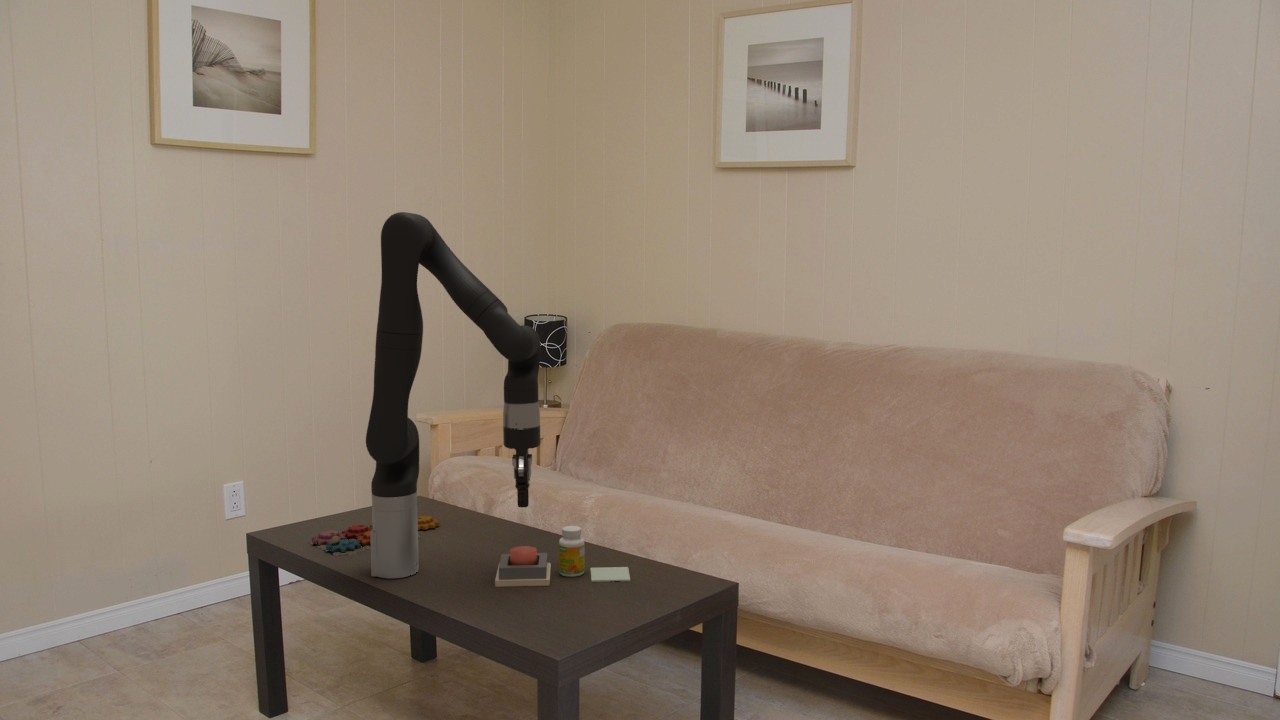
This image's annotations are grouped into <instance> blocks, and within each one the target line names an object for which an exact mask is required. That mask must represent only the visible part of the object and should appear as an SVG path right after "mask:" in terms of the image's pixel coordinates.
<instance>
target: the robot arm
mask: <svg viewBox="0 0 1280 720" xmlns="http://www.w3.org/2000/svg"><path fill="white" fill-rule="evenodd" d="M380 255H381V256H380V257H381V262H380V263H381V265H380V266H381V282H380V283H381V284H380V293H379V294H380V295H379V301H378V302H379V303H378V304H379V305H378V316H377V317H378V318H377V324H376V334H375V335H376V336H375V349H374V350H375V351H374V353H375V354H374V355H375V356H374V367H373V368H374V370H373V393H372V395H373V396H372V402H371V408H370V413H369V419H368V424H367V429H366V434H365V445H366V449H367V452H368V454H369V456H370V457H371V458H372V459H373V460H374V461H375V471H374V474H373V477H372V479H371V484H370V485H371V486H370V487H371V491H370V492H371V513H372V515H371V517H372V519H371V520H372V522H371V523H372V524H371V525H373V529H372V531H371V533H370V541H371V549H370V565H371V566H370V568H371V569H370V570H371V573H370V574H371V576H370V577H378V578H382V579H401V578H406V577H410V575H411V576H413V575H415V574H417V573H418V572H419V562H420V561H419V560H420V559H419V539H418V532H419V530H418V517H419V516H418V480H419V476H420V434H419V430H418V427H417V426H416V423H415V422H414V421H413V420H412V419H411V418H409V401H410V396H411V395H410V394H411V391H412V387H413V384H414V381H415V380H416V379H415V378H416V375H417V373H418V368H419V366H420V361H421V355H422V349H423V339H424V338H423V337H424V336H423V335H424V319H423V313H422V307H421V302H420V298H419V292H418V273H419V267H420V266H419V265H421V266H422V267H423V268H424V269H426V270H427V271H428V272H429V273H430V274H431V275H433V276H434V277H435V279H436V280H437V281H438V282H439V284H440V285H442V287H443V288H444V289H445V292H446V293H447V294H448V295H449V297H450V299H451V300H452V301H453V302H454V304H455V305H456V307H457V308H458V309H460V310H461V312H462V313H464V314H465V316H467V317H468V318H469V320H471V321H472V322H473V323H474V324H475V325H476V326H477V327H478V328H479V329H481V331H482V332H483V334H484V335H485V336H486V338H487V339H488V340H489V342H490V343H491V345H492V346H493V347H494V349H495V350H496V351H497V352H498V353H500V355H502V357H504V358H505V359H506V360H507V372H506V375H505V377H504V379H503V410H502V426H503V427H502V429H503V430H502V431H503V432H502V433H503V438H502V439H503V446H504V447H505V448H506V449H511V450H513V449H514V450H515V454H512V457H511V458H512V459H511V461H512V463H511V465H512V467H513V479H515V485H514V486H515V489H516V491H517V493H516V494H517V507H518V508H528V507H529V505H530V504H529V503H530V502H529V496H530V495H529V494H530V493H529V492H530V491H529V490H530V485H531V484H530V481H531V476H532V463H533V454H532V453H529V449H535V448H538V447H539V446H540V445H541V411H540V410H541V409H540V404H539V403H540V402H539V381H538V380H539V379H538V378H539V371H540V365H541V364H540V362H541V351H542V349H541V348H542V347H541V343H542V342H541V338H540V336H539V333H538V332H537V330H535V329H534V328H533V327H532V326H530V325H520V324H519V323H518V322H517V321H516V320H515V319H514V318H513V317H512V316H511V314H509V313H508V312H509V311H508V308H507V306H506V305H505V304H504V302H502V300H501V299H499V297H498V296H497V295H496V294H495V293H493V292H492V291H491V289H490V288H488V286H486V284H484V283H483V282H482V281H481V280H480V279H479V278H478V277H477V276H476V275H475V274H474V273H472V271H471V270H470V269H469V268H468V267H467V266H466V265H465V264H464V263H463V262H462V261H461V260H460V258H458V256H456V254H455V253H454V251H452V250H451V248H450V247H449V246H448V244H447V243H446V242H445V240H444V239H443V237H442V236H441V235H440V233H439V232H438V231H437V229H436V228H435V227H434V225H433V224H432V222H430V220H429V219H428V218H426V217H425V216H424V215H421V214H417V213H412V212H404V211H402V212H401V211H400V212H396V213H392V214H391V215H390V216H389V217H387V219H386V220H385V221H384V223H383V226H382V228H381V232H380ZM416 572H417V573H416Z"/></svg>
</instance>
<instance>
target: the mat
mask: <svg viewBox="0 0 1280 720" xmlns="http://www.w3.org/2000/svg"><path fill="white" fill-rule="evenodd" d="M630 576H631V575H630V570H629V567H628V566H618V567H617V566H616V567H614V566H613V567H611V566H610V567H609V566H607V567H590V579H591V583H612V582H613V583H614V581H620V582H631V577H630ZM611 581H612V582H611Z"/></svg>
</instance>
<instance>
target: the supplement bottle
mask: <svg viewBox="0 0 1280 720" xmlns="http://www.w3.org/2000/svg"><path fill="white" fill-rule="evenodd" d="M561 529H562V530H561V535H562V537H561V538H559V540H558V573H559V575H561V576H563V577H569V578H571V577H572V578H573V577H580V576H582V575H584V573H585V571H586V570H585V560H586V559H585V546H586V545H585V539H584V537H582V536H581V535H582V528H581V527H580V526H577V525H566V526H563V527H562V528H561Z"/></svg>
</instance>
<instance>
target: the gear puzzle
mask: <svg viewBox="0 0 1280 720" xmlns="http://www.w3.org/2000/svg"><path fill="white" fill-rule="evenodd" d="M417 517H418V534H421V532H419V530H422V531H426V530H428V529H435V528H436V527H437V526H440V525H441V522H440V520H439V519H438V518H433V516H431V515H421V516H417ZM372 529H373V524H370V525H369V526H368V525H365V524H357V525H352V526H349V527H348V529H346V530H343V531H341V532H339V531H337V530H326V531H325V530H324V531H322V532H320V533H319V534H318V535H316V536H315V535H314V536H312V537H311V540H310V541H312V543H313V544H315V545H317V546H318V545H319V546H321V547H323V546H326V547H325V548H326V550H331V551H330V552H331V553H332V552H333V553H335V554H341V553H347V552H349V553H348V554H352V553H356V552H355V551H358V550H362V549H364V548H366V549H368V548H371V541H370V533H371V531H372ZM421 536H422V535H418V537H421ZM421 538H422V537H421ZM347 539H348V540H347ZM355 540H356V541H355ZM316 543H318V544H316ZM361 546H362V547H361ZM363 547H364V548H363Z"/></svg>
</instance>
